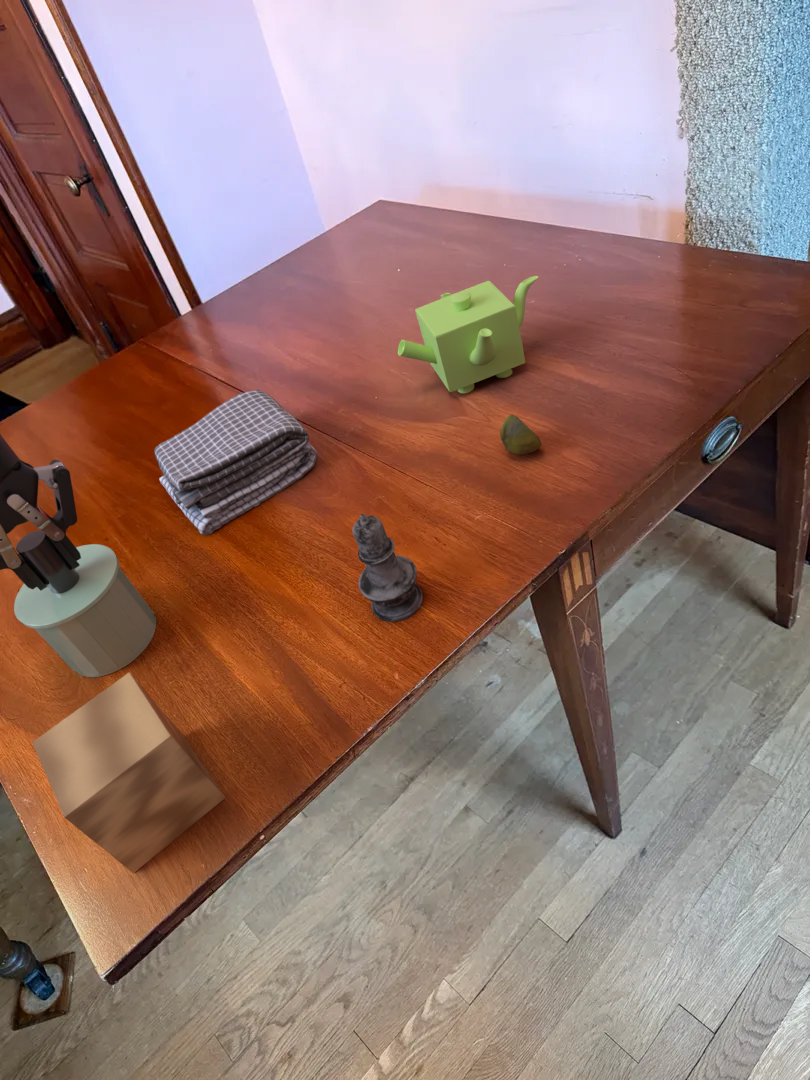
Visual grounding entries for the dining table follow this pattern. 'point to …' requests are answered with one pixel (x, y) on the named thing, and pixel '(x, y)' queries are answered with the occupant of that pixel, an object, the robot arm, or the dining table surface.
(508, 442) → the olive green rock
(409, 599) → the chess piece
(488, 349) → the kettle
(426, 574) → the dining table surface
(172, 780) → the stand
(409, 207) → the dining table surface
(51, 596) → the lid
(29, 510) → the robot arm
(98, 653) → the pot
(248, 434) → the towel
